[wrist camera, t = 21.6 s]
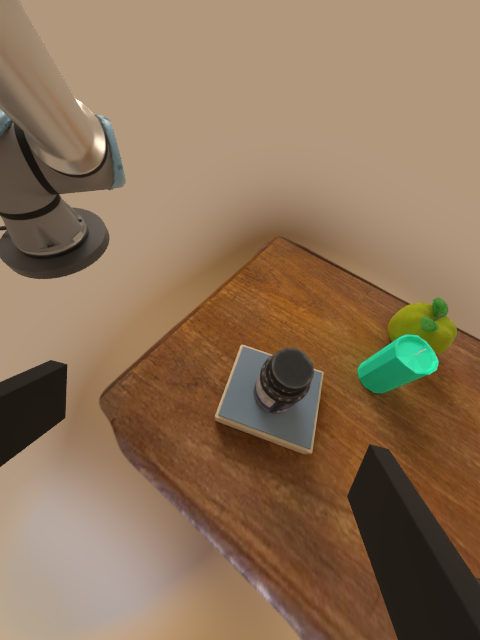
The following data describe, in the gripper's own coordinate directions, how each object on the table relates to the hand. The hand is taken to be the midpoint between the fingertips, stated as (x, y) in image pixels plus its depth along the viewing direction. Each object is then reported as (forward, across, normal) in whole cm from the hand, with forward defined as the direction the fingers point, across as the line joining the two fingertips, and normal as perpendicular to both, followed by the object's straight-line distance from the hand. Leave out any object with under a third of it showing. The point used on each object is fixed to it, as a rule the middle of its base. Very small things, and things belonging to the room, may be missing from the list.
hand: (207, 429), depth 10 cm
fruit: (+38, +30, -1) cm, 48 cm away
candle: (+32, +24, -7) cm, 41 cm away
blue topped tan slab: (+26, +6, -13) cm, 30 cm away
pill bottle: (+23, +6, -10) cm, 26 cm away
